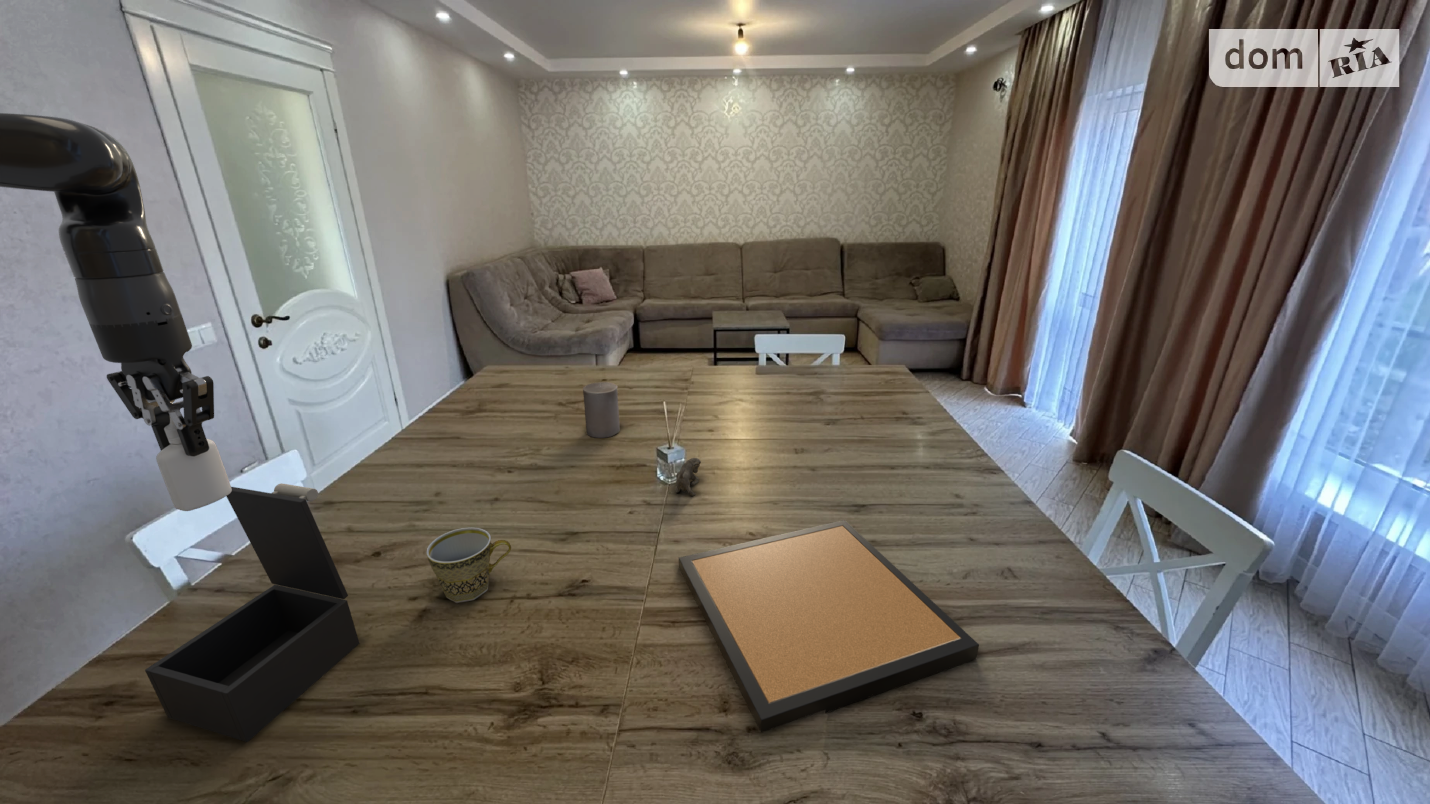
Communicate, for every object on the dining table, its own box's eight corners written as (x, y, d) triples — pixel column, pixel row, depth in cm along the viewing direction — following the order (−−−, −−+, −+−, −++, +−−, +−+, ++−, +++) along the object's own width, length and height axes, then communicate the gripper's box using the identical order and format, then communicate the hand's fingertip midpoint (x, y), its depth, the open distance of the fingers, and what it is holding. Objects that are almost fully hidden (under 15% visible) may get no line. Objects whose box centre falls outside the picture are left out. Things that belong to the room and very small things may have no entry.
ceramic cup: (431, 617, 90) (420, 567, 87) (442, 579, 99) (432, 531, 96) (515, 603, 93) (507, 553, 90) (518, 567, 102) (511, 520, 99)
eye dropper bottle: (176, 501, 71) (142, 415, 67) (232, 487, 75) (203, 404, 70) (175, 515, 68) (139, 426, 64) (234, 500, 71) (204, 414, 67)
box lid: (300, 502, 73) (333, 480, 77) (222, 489, 76) (258, 468, 81) (344, 599, 81) (372, 574, 85) (271, 583, 84) (302, 560, 88)
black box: (249, 746, 69) (226, 693, 66) (169, 721, 72) (144, 669, 69) (360, 646, 84) (347, 600, 81) (290, 629, 88) (274, 584, 85)
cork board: (843, 531, 113) (678, 570, 101) (844, 519, 112) (678, 557, 100) (975, 659, 82) (760, 736, 70) (979, 644, 81) (761, 720, 69)
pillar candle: (585, 427, 164) (580, 379, 158) (618, 423, 166) (614, 376, 161) (588, 440, 155) (583, 390, 150) (622, 435, 158) (619, 386, 153)
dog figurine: (694, 501, 124) (694, 472, 121) (670, 498, 125) (669, 469, 123) (707, 476, 135) (706, 449, 132) (684, 474, 136) (683, 447, 133)
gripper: (48, 318, 61) (108, 458, 67) (142, 325, 58) (196, 472, 64) (130, 306, 68) (177, 434, 74) (218, 312, 64) (260, 445, 71)
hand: (186, 451), depth 69 cm, fingers closed on eye dropper bottle, 3 cm apart
